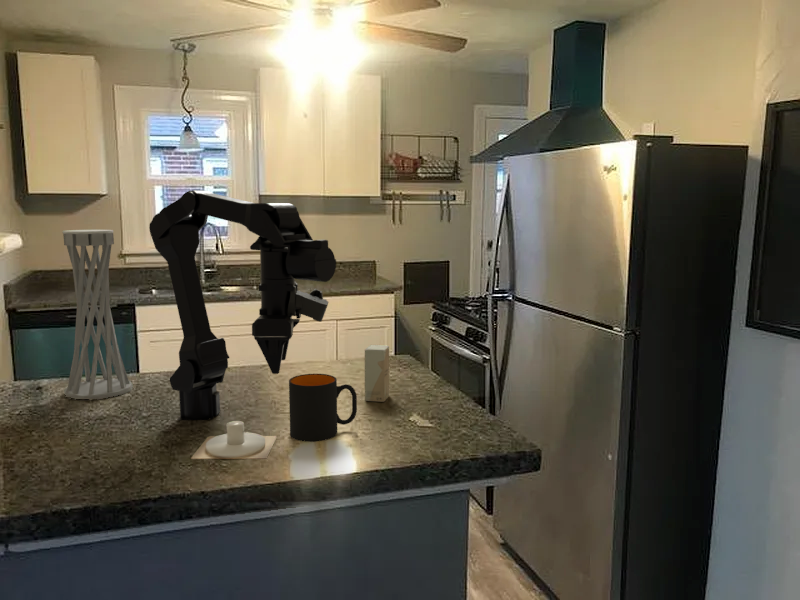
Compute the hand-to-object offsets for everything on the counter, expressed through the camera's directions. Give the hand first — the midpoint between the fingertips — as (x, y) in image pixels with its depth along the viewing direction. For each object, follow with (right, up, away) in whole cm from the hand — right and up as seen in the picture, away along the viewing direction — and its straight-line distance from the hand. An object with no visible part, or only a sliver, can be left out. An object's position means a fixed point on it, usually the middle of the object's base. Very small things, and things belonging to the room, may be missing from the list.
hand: (279, 366), depth 113 cm
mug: (+8, -13, +3) cm, 15 cm away
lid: (-6, -13, -5) cm, 15 cm away
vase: (-45, -9, +29) cm, 54 cm away
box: (+16, -9, +24) cm, 31 cm away
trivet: (-6, -14, -5) cm, 16 cm away
